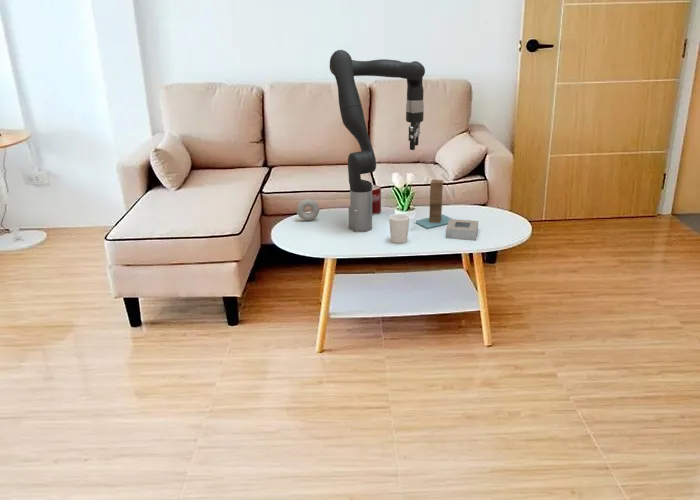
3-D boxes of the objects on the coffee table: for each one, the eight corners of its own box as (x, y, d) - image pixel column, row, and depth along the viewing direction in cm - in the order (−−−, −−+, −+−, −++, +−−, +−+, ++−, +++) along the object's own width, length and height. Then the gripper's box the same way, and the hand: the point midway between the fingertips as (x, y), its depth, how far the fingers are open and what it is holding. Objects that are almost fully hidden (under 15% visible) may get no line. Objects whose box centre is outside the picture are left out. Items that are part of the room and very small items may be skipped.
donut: (319, 218, 280) (318, 197, 277) (320, 220, 277) (319, 199, 273) (297, 219, 279) (295, 198, 275) (297, 222, 276) (296, 200, 272)
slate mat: (427, 229, 265) (427, 227, 265) (413, 222, 273) (413, 221, 273) (457, 222, 272) (457, 220, 272) (443, 215, 281) (443, 214, 280)
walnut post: (439, 223, 270) (441, 183, 263) (429, 222, 271) (430, 182, 264) (441, 219, 274) (442, 180, 267) (430, 218, 275) (432, 179, 268)
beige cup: (386, 242, 253) (386, 219, 249) (392, 235, 259) (393, 212, 255) (405, 244, 250) (405, 221, 246) (411, 237, 256) (411, 215, 253)
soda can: (379, 215, 283) (379, 189, 278) (363, 214, 284) (363, 189, 280) (382, 210, 289) (382, 185, 285) (366, 209, 291) (366, 184, 286)
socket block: (475, 240, 253) (475, 231, 251) (445, 237, 256) (446, 228, 254) (477, 229, 263) (478, 221, 262) (449, 227, 266) (449, 218, 265)
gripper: (409, 107, 275) (408, 143, 281) (402, 113, 262) (402, 151, 268) (426, 107, 273) (425, 144, 279) (420, 113, 260) (419, 151, 266)
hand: (414, 147), depth 274 cm, fingers open, 8 cm apart
